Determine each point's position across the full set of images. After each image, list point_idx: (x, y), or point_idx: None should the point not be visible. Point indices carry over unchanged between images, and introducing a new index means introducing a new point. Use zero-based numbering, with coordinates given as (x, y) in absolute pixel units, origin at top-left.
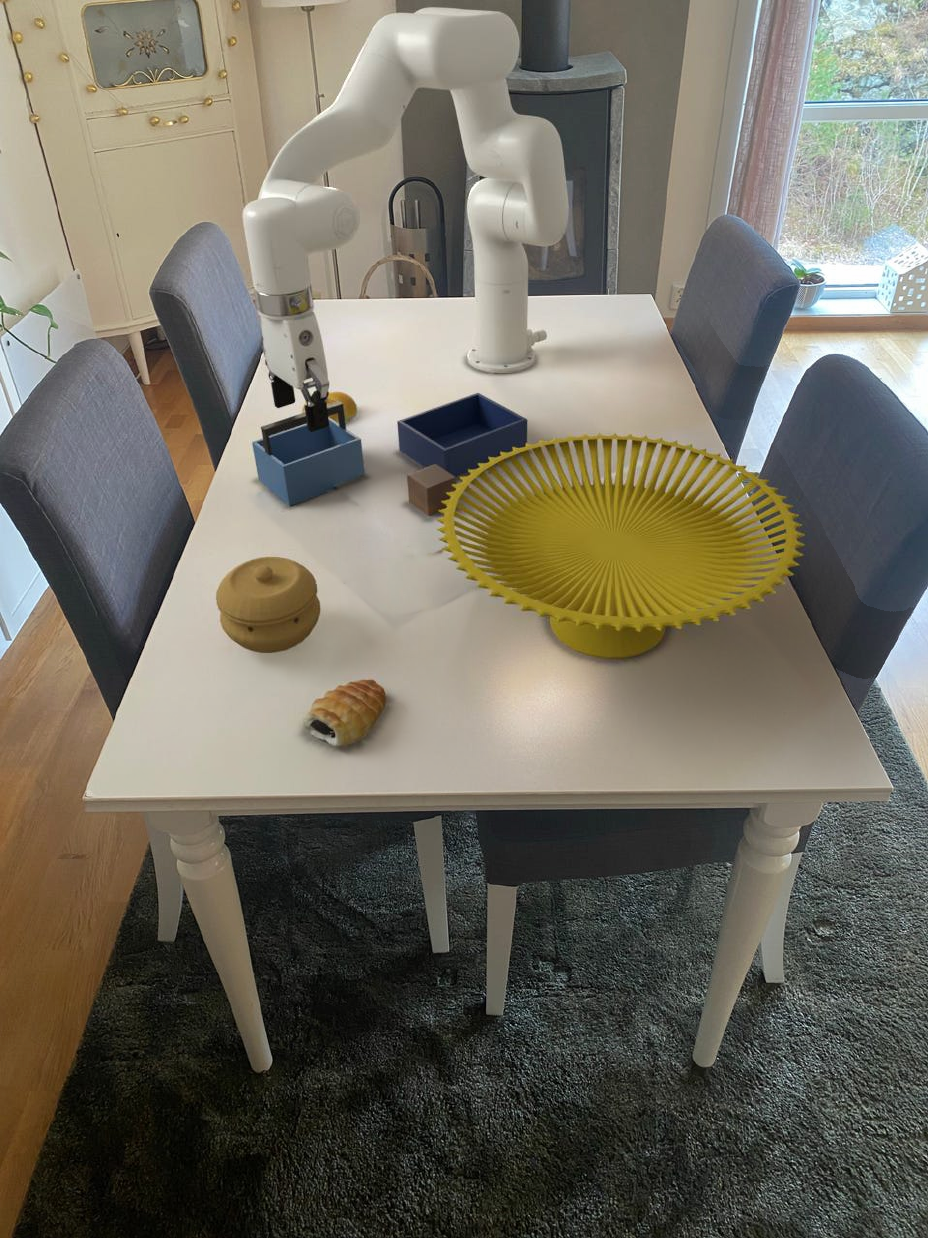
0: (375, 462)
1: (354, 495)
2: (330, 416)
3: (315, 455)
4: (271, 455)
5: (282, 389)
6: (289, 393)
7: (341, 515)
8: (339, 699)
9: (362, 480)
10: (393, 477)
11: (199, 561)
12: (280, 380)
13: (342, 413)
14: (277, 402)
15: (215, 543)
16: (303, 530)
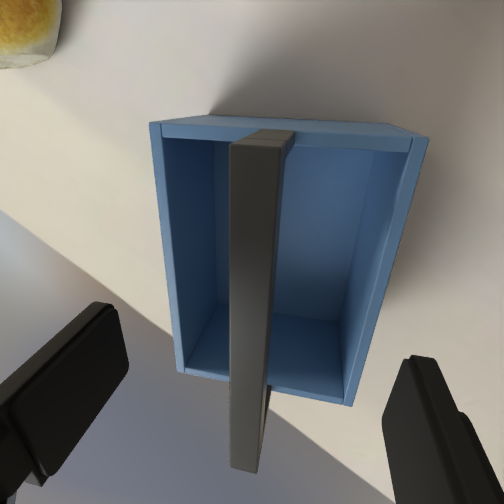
0: (341, 30)
1: (436, 206)
2: (34, 5)
3: (374, 327)
4: (275, 388)
5: (71, 412)
6: (87, 362)
7: (477, 282)
8: None
9: None
10: (472, 42)
11: (365, 468)
12: (24, 461)
13: (287, 152)
14: (114, 386)
15: (342, 439)
16: (443, 358)
